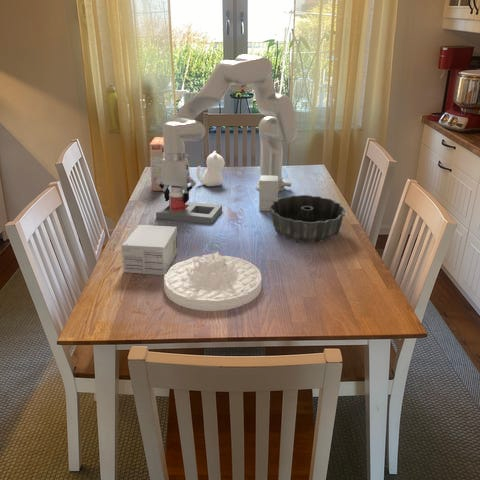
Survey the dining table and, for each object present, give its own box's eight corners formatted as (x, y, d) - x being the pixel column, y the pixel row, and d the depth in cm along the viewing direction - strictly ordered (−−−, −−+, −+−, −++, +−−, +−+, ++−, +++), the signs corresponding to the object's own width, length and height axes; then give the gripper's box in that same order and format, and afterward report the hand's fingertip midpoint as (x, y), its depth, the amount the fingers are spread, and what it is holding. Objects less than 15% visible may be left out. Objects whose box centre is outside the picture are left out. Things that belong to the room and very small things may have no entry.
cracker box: (165, 191, 229) (162, 144, 221) (151, 191, 229) (148, 144, 221) (169, 181, 242) (167, 136, 234) (156, 181, 242) (154, 136, 234)
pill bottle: (188, 214, 204) (187, 187, 200) (174, 217, 201) (173, 189, 197) (181, 209, 209) (180, 183, 204) (167, 212, 206) (165, 185, 201)
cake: (209, 257, 170) (209, 229, 166) (280, 283, 154) (281, 254, 150) (143, 289, 150) (141, 259, 147) (216, 324, 134) (216, 291, 130)
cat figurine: (225, 187, 235) (225, 154, 229) (197, 188, 233) (196, 155, 227) (223, 181, 243) (223, 149, 237) (196, 182, 242) (195, 150, 236)
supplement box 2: (277, 205, 214) (278, 175, 209) (277, 211, 207) (278, 181, 202) (259, 204, 215) (260, 174, 210) (258, 211, 208) (259, 180, 203)
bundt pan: (347, 250, 175) (350, 222, 171) (268, 248, 176) (269, 220, 172) (339, 221, 199) (341, 196, 195) (269, 219, 200) (270, 194, 196)
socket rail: (222, 211, 208) (222, 205, 207) (211, 223, 195) (211, 217, 194) (169, 206, 212) (169, 200, 211) (156, 218, 200) (155, 212, 199)
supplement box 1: (165, 275, 158) (164, 247, 154) (123, 273, 159) (120, 245, 155) (178, 252, 173) (177, 225, 169) (139, 249, 174) (137, 223, 171)
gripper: (199, 154, 197) (201, 199, 204) (156, 151, 201) (159, 196, 208) (193, 160, 190) (195, 206, 198) (148, 156, 194) (152, 202, 202)
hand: (176, 200), depth 203 cm, fingers open, 6 cm apart
